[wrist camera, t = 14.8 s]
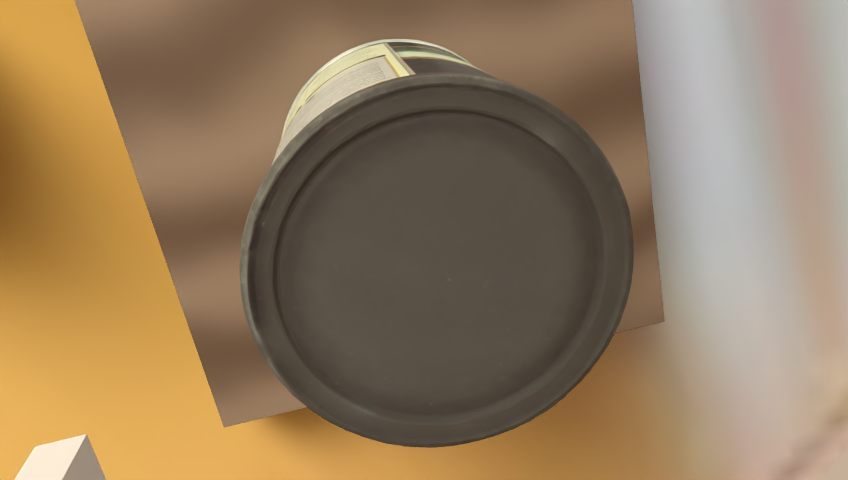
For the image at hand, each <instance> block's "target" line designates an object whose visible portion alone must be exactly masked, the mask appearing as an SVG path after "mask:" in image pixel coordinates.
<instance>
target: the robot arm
mask: <svg viewBox="0 0 848 480" xmlns="http://www.w3.org/2000/svg"><path fill="white" fill-rule="evenodd" d="M14 480H106V478H105V476H104V474H103V471H102V469H101V467H100V464H99V462H98V460H97V457H96V455H95V453H94V450H93V448H92V446H91V444H90V441H89V439H88V437H87V434H86V435H82V436H77V437H73V438H69V439H65V440H61V441H56V442H52V443H48V444H44V445H40V446H35V448H34V450H33V451H32V453H31V454H30V456H29V457H28V459H27V461H26V462H25V464H24V465H23V467H22V468H21V470H20V472H19V473H18V475H17V476H16V478H15V479H14Z"/></svg>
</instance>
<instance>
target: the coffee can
mask: <svg viewBox="0 0 848 480" xmlns="http://www.w3.org/2000/svg"><path fill="white" fill-rule="evenodd" d="M633 258H634V247H633V230H632V224H631V217H630V210H629V207H628V204H627V200H626V197H625V194H624V192H623V189H622V187H621V184H620V182H619V180H618V178H617V175H616V173H615V171H614V169H613V167H612V166H611V164H610V162H609V161H608V159H607V158H606V156H605V155H604V153H603V152H602V151H601V149H600V148H599V147H598V145H597V144H596V143H595V142H594V140H593V139H592V138H591V137H590V136H589V134H588V133H587V132H586V131H585V130H584V129H583V128H582V127H581V126H580V125H579V124H578V123H577V122H576V121H575V120H574V119H572V118H571V117H570V116H568V115H567V114H565V113H564V112H563V111H561V110H560V109H559V108H557V107H556V106H554V105H553V104H551V103H550V102H548V101H547V100H545V99H543V98H541V97H539V96H538V95H536V94H534V93H532V92H530V91H527V90H525V89H523V88H520V87H518V86H515V85H513V84H511V83H508V82H505V81H502V80H498V79H496V78H495V77H493V76H491V75H489V74H487V73H486V72H484V71H482V70H480V69H479V68H477V67H475V66H474V65H472V64H471V63H470V62H468V61H467V60H466V59H464V58H463V57H461V56H459V55H458V54H456V53H454V52H452V51H450V50H448V49H446V48H444V47H441V46H438V45H435V44H432V43H428V42H424V41H419V40H411V39H383V40H378V41H373V42H369V43H366V44H362V45H359V46H357V47H354V48H352V49H349V50H347V51H345V52H343V53H342V54H340V55H338V56H337V57H335V58H333V59H332V60H330V61H329V62H328V63H326V64H325V65H324V66H323V67H322V68H320V69H319V70H318V71H317V72H316V73H315V74H314V75H313V76H312V77H311V78H310V79H309V80H308V81H307V83H306V84H305V85H304V86H303V87H302V88H301V90H300V92H299V93H298V95H297V96H296V98H295V100H294V102H293V104H292V106H291V108H290V111H289V113H288V115H287V118H286V121H285V125H284V129H283V133H282V137H281V141H280V144H279V146H278V149H277V152H276V156H275V158H274V161H273V164H272V166H271V168H270V169H269V171H268V172H267V174H266V176H265V178H264V179H263V181H262V183H261V185H260V187H259V189H258V191H257V194H256V196H255V198H254V201H253V203H252V205H251V208H250V210H249V213H248V217H247V220H246V224H245V228H244V232H243V236H242V242H241V252H240V263H239V274H240V289H241V297H242V303H243V309H244V313H245V316H246V320H247V323H248V326H249V329H250V332H251V334H252V337H253V339H254V341H255V343H256V345H257V347H258V349H259V351H260V353H261V355H262V357H263V358H264V360H265V362H266V363H267V365H268V366H269V368H270V369H271V371H272V372H273V373H274V375H275V376H276V377H277V378H278V380H279V381H280V382H281V383H282V384H283V385H284V386H285V387H286V389H287V390H288V391H289V392H290V393H291V394H292V395H293V396H294V397H295V398H297V399H298V400H299V401H300V402H302V403H303V404H304V405H305V406H307V407H308V408H309V409H311V410H312V411H313V412H315V413H316V414H318V415H319V416H321V417H322V418H324V419H326V420H327V421H329V422H330V423H332V424H335V425H337V426H339V427H341V428H343V429H345V430H347V431H349V432H352V433H355V434H358V435H360V436H362V437H366V438H369V439H372V440H376V441H379V442H383V443H387V444H394V445H401V446H409V447H445V446H454V445H459V444H465V443H470V442H474V441H479V440H482V439H486V438H489V437H492V436H496V435H498V434H501V433H504V432H506V431H509V430H512V429H514V428H516V427H518V426H520V425H522V424H525V423H527V422H529V421H531V420H532V419H534V418H535V417H537V416H539V415H540V414H542V413H544V412H545V411H547V410H548V409H550V408H551V407H553V406H554V405H555V404H557V402H558V401H560V400H561V399H563V398H564V397H565V396H566V395H567V394H568V393H569V392H570V391H571V390H572V389H573V388H574V387H575V386H576V385H577V384H578V383H579V382H580V381H581V380H582V379H583V378H584V377H585V376H586V375H587V373H588V372H589V371H590V370H591V368H592V367H593V366H594V364H595V363H596V362H597V360H598V359H599V358H600V356H601V355H602V353H603V352H604V350H605V349H606V347H607V346H608V344H609V342H610V340H611V339H612V337H613V335H614V333H615V331H616V329H617V327H618V325H619V323H620V321H621V318H622V315H623V312H624V309H625V307H626V304H627V300H628V296H629V292H630V287H631V282H632V273H633Z"/></svg>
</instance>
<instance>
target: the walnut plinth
mask: <svg viewBox="0 0 848 480" xmlns="http://www.w3.org/2000/svg"><path fill="white" fill-rule="evenodd" d="M75 2H76V5H77V8H78V11H79V14H80V17H81V20H82V22H83V25H84V28H85V31H86V34H87V37H88V40H89V42H90V45H91V48H92V51H93V54H94V57H95V60H96V62H97V65H98V68H99V71H100V74H101V77H102V80H103V82H104V85H105V88H106V91H107V94H108V97H109V100H110V103H111V105H112V108H113V111H114V114H115V117H116V120H117V123H118V125H119V128H120V131H121V134H122V137H123V140H124V143H125V145H126V148H127V151H128V154H129V157H130V160H131V163H132V165H133V168H134V171H135V174H136V177H137V180H138V183H139V185H140V188H141V191H142V194H143V197H144V200H145V203H146V206H147V208H148V211H149V214H150V217H151V220H152V223H153V226H154V228H155V231H156V234H157V237H158V240H159V243H160V246H161V248H162V251H163V254H164V257H165V260H166V263H167V266H168V268H169V271H170V274H171V277H172V280H173V283H174V286H175V289H176V291H177V294H178V297H179V300H180V303H181V306H182V309H183V311H184V314H185V317H186V320H187V323H188V326H189V329H190V331H191V334H192V337H193V340H194V343H195V346H196V349H197V351H198V354H199V357H200V360H201V363H202V366H203V369H204V371H205V374H206V377H207V380H208V383H209V386H210V389H211V392H212V394H213V397H214V400H215V403H216V406H217V409H218V412H219V414H220V417H221V420H222V423H223V426H224V427H228V426H232V425H236V424H240V423H245V422H249V421H253V420H257V419H261V418H265V417H269V416H274V415H278V414H282V413H286V412H290V411H294V410H298V409H303V408H307V406H305V405H304V404H303V403H302V402H300V401H299V400H298V399H297V398H295V397H294V396H293V395H292V394H291V393H290V392H289V391H288V390H287V389H286V387H285V386H284V385H283V384H282V383H281V382H280V381H279V380H278V378H277V377H276V376H275V375H274V373H273V372H272V371H271V369H270V368H269V366H268V365H267V363H266V362H265V360H264V358H263V357H262V355H261V353H260V351H259V349H258V347H257V345H256V343H255V341H254V339H253V337H252V334H251V332H250V329H249V326H248V323H247V320H246V316H245V313H244V309H243V303H242V297H241V289H240V274H239V263H240V252H241V242H242V236H243V232H244V228H245V224H246V220H247V217H248V213H249V210H250V208H251V205H252V203H253V201H254V198H255V196H256V194H257V191H258V189H259V187H260V185H261V183H262V181H263V179H264V178H265V176H266V174H267V172H268V171H269V169H270V168H271V166H272V164H273V161H274V158H275V156H276V152H277V149H278V146H279V144H280V141H281V137H282V133H283V129H284V125H285V121H286V118H287V115H288V113H289V111H290V108H291V106H292V104H293V102H294V100H295V98H296V96H297V95H298V93H299V92H300V90H301V88H302V87H303V86H304V85H305V84H306V83H307V81H308V80H309V79H310V78H311V77H312V76H313V75H314V74H315V73H316V72H317V71H318V70H319V69H320V68H322V67H323V66H324V65H325V64H326V63H328V62H329V61H330V60H332V59H333V58H335V57H337V56H338V55H340V54H342V53H343V52H345V51H347V50H349V49H352V48H354V47H357V46H359V45H362V44H366V43H369V42H373V41H378V40H383V39H411V40H419V41H424V42H428V43H432V44H435V45H438V46H441V47H444V48H446V49H448V50H450V51H452V52H454V53H456V54H458V55H459V56H461V57H463V58H464V59H466V60H467V61H468V62H470V63H471V64H472V65H474V66H475V67H477V68H479V69H480V70H482V71H484V72H486V73H487V74H489V75H491V76H493V77H495V78H496V79H498V80H502V81H505V82H508V83H511V84H513V85H515V86H518V87H520V88H523V89H525V90H527V91H530V92H532V93H534V94H536V95H538V96H539V97H541V98H543V99H545V100H547V101H548V102H550V103H551V104H553V105H554V106H556V107H557V108H559V109H560V110H561V111H563V112H564V113H565V114H567V115H568V116H570V117H571V118H572V119H574V120H575V121H576V122H577V123H578V124H579V125H580V126H581V127H582V128H583V129H584V130H585V131H586V132H587V133H588V134H589V136H590V137H591V138H592V139H593V140H594V142H595V143H596V144H597V145H598V147H599V148H600V149H601V151H602V152H603V153H604V155H605V156H606V158H607V159H608V161H609V162H610V164H611V166H612V167H613V169H614V171H615V173H616V175H617V178H618V180H619V182H620V184H621V187H622V189H623V192H624V194H625V197H626V200H627V204H628V207H629V210H630V217H631V224H632V230H633V247H634V258H633V273H632V282H631V287H630V292H629V296H628V300H627V304H626V307H625V309H624V312H623V315H622V318H621V321H620V323H619V325H618V327H617V329H616V331H615V333H618V332H622V331H627V330H631V329H635V328H639V327H643V326H647V325H651V324H656V323H660V322H664V313H663V303H662V293H661V283H660V273H659V263H658V253H657V243H656V233H655V224H654V214H653V204H652V194H651V184H650V174H649V164H648V154H647V144H646V134H645V125H644V115H643V105H642V95H641V85H640V75H639V65H638V55H637V45H636V35H635V26H634V16H633V6H632V0H75Z"/></svg>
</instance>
